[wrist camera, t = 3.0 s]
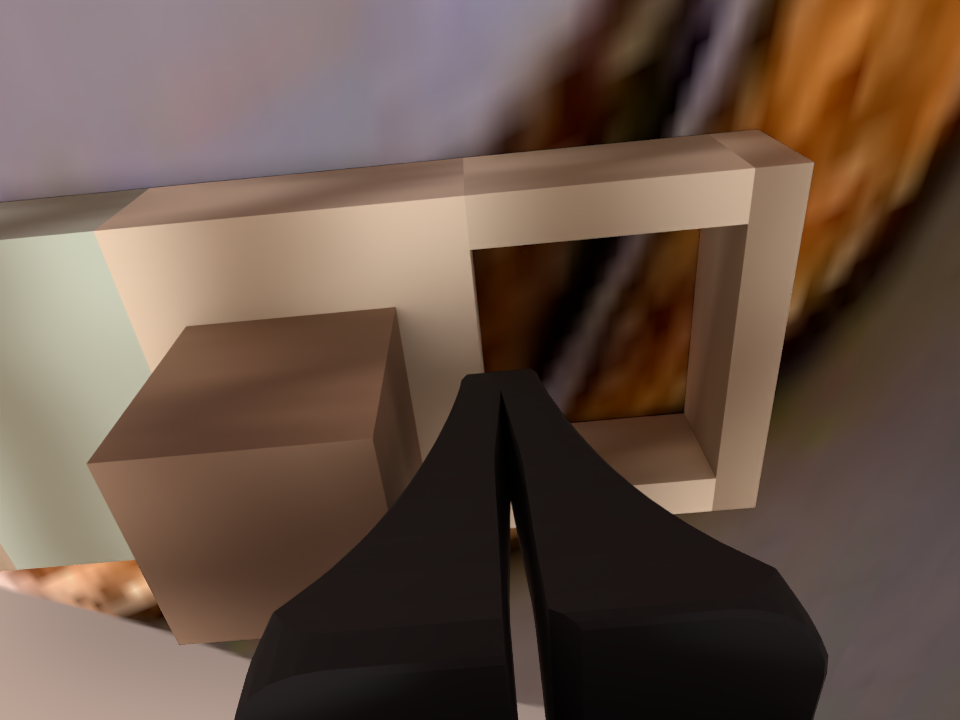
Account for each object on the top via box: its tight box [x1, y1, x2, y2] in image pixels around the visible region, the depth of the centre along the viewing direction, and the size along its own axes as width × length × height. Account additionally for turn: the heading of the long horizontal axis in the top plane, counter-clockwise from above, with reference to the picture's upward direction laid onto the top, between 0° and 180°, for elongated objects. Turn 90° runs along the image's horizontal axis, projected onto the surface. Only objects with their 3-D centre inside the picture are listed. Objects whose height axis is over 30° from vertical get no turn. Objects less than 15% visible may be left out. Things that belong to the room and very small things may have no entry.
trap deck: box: [0, 129, 814, 571], centre depth 15 cm, size 24×8×2 cm, turn 95°
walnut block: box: [86, 307, 422, 645], centre depth 12 cm, size 4×4×4 cm
